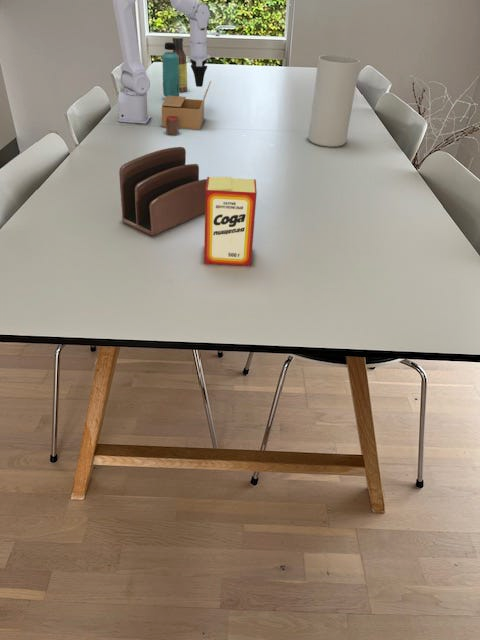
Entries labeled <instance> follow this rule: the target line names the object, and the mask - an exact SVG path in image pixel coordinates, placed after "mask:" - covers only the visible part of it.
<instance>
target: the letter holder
mask: <svg viewBox="0 0 480 640" xmlns="http://www.w3.org/2000/svg"><path fill="white" fill-rule="evenodd" d="M186 155H187V151H186V148H185V147H183V146H174V147H168V148H163V149H160V150H156V151H153V152H150V153H146V154H144V155H141V156H139V157H136V158H134V159H132V160H130V161H128V162H125V163H124V164H122V165H121V166H120V168H119V170H118V171H119V173H118V174H119V175H118V176H119V191H120V204H121V218H122V223H123V224H126V225H128V226H130V227H133V228H134V229H137V230H139V231H141V232H143V233H145V234H147V235H149V236H151V237H153V236H156V235H157V234H160V233H162V232H164V231H167V230H169V229H171V228H174V227H177V226H178V225H180V224H183V223H186V222H187V221H190V220H191V219H194V218H197V217H199V216H201V215H205V192H206V183H207V178H204V179H200V166H199V164H198V163H190V164H186V157H187V156H186Z"/></svg>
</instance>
